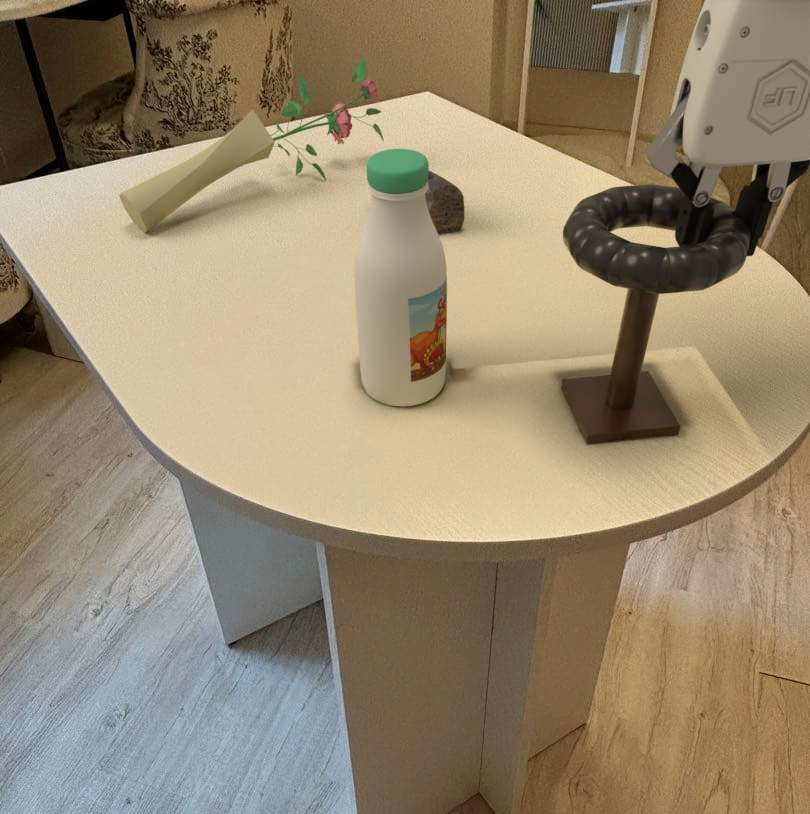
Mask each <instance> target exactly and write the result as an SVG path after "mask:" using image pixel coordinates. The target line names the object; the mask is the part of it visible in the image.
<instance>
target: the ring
mask: <svg viewBox="0 0 810 814" xmlns="http://www.w3.org/2000/svg"><path fill="white" fill-rule="evenodd" d="M683 197H684V193H683V192H682V191H681V190H680V188H679V187H675V186H668V185H661V184H655V183H650V184H649V183H648V184H635V185H634V184H633V185H622V186H621V185H620V186H613V187H609V188H608V189H605V190H602V191H599V192H597V193H595V194H592V195H589V196H587V197H585V198H583V199H581V200H580V201H579V202H578V203H577V204H576V205H575V207H574V208H573V210H572V212H571V213H570V215H569V217H568V219H567V220H566V221H565V223H564V225H563V230H562V240H563V243H564V245H565V248H567V250H568V252H569V254H570V256H571V258H572V260H573V261H574V262H575V264H576V265H577V267H579V269H581V270H582V271H584V272H586V273H588V274H590V275H592V276H594V277H596V278H598V279H600V280H601V281H603V282H605V283H607V284H610V285H611V286H613V287H617V288H622V289H627V290H628V289H633V290H638V291H644V292H649V293H655V294H659V295H664V294H678V293H687V292H688V293H689V292H699V291H704V290H707V289H709V288H711V287H713V286H715V285H716V284H719V283H721V282H723V281H725V280H727V279H729V278H731V277H733V276H735V275H736V274H737V273H738V272H740V271H741V270H742V268H743V267H744V265H745V263H746V260H747V257H748V256H747V252H748V248H749V244H750V239H751V234H750V229H749V227H748V226H747V224H746V223H745V222H744V221H743V220H742V219H741V218H740V217H739V216H738V215H737V214H736V212H735V209H733V208H732V207H731V206H730V205H729V204H727V203H726V202H724V201H721V200H718V199H716V198H714V197H711V198H710V201H709V203H710V204H711V205H712V206H713V208H714V214H713V218H712V222H711V225H710V229H709V233H708V236H707V238H706V241H704V242H702V243H700V244H697V245H693V246H681V247H679V246H670V247H669V246H667V247H664V246H663V247H662V246H656V245H651V244H646V243H645V244H644V243H639V242H633V241H629V240H628V239H626V238H623V237H621V236H619V235H617V234H615V233H612V232H614V231H616V230H619V229H629V228H642V227H647V228H654V229H655V228H656V229H661V230H667V231H672V232H673V231H674V232H675V230H676V226H677V222H678V218H679V214H680V210H681V206H682V201H683Z"/></svg>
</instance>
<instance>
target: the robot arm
mask: <svg viewBox="0 0 810 814" xmlns="http://www.w3.org/2000/svg"><path fill="white" fill-rule="evenodd" d="M680 146H682V150H683V153H684V155H686V156H687V161H684V159H683V158H682V157H680V156H678V155H677V150H678V149H679V147H680ZM644 160H645V161H647V163H648V165H650V166H651V167H652V168H653V169H655V170H656V171H658V172H659V173H661V174H663V175H664V176H666V177H668V178H669V179H671V180H673V182H674V183H675V184H676V186H677V188H680V190H681V191H682V192H683V193H684V197H683V201H682V206H681V210H680V214H679V218H678V222H677V226H676V230H675V231H674V238H675V242H676V244H677V245H678V247H681V246H693V245H697V244H700V243H702V242H704V241H706V238H707V236H708V233H709V229H710V225H711V222H712V218H713V214H714V208H713V206H712V205H711V204H710V203H709V201H710V198H712V195H713V192H714V190H715V187H716V185H717V183H718V180H719V177H720V174H721V172H722V169H723V168H729V167H743V166H744V167H745V166H753V168H752V175H751V182H750V183H749V184H745V185H743V187H742V189H741V190H740V192H739V195H738V199H737V202H736V206H735V209H734V211H735V212H736V214H737V215H738V216H739V217H740V218H741V219H742V220H743V221H744V222H745V223H746V224H747V226H748V227H749V229H750V234H751V239H750V244H749V248H748V252H747V256H746V257H753V256H754V254H755V253H756V249H757V247H758V246H757V245H758V244H759V243H758V242H759V240H760V239H761V238H762V237H763V235H764V232H765V229H766V226H767V223H768V219H769V217H770V213H771V210H772V208H773V205H774V203H776V202H778V201H780V200H781V199H782V198H784V196H785V193H786V190H787V188H788V187H789V186H791V185H792V184H793V183H794V182H796V181H797V180H798V179H799V178H800V177H801V176H802V175H804V174H805V173H806V172H808V170H809V168H810V0H704V2H703V5H702V6H701V9H700V12H699V15H698V17H697V20H696V22H695V26H694V29H693V31H692V34H691V38H690V41H689V44H688V47H687V50H686V53H685V56H684V60H683V64H682V67H681V70H680V73H679V78H678V81H677V85H676V88H675V92H674V97H673V101H672V105H671V109H670V115H669V117H668V119H666V122H665V123H664V125H663V126H662V127H661V129H660V130H659V132H658V133H657V134H656V136H655V137H654V138H653V140H652V142H651V143H650V144H649V146H648V147H647V149H645V152H644Z"/></svg>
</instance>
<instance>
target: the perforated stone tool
mask: <svg viewBox="0 0 810 814" xmlns="http://www.w3.org/2000/svg"><path fill="white" fill-rule="evenodd" d="M427 182H428V186H429V188H428V190H427V192H426V193H425V198H426V204H427V207H428V211H429V214H430V217H431V220H432V222H433V224H434V226H435V229H436V231H437V233H438V235H443V234H450V233H454V232H458V231H460V230H461V229H462V227H463V226H464V223H465V201H464V200H465V199H464V198H465V196H464V194H463V192H462V190H460V188H459V187H458V186H457V185H455V184H454V183H452V182H451V181H449V180H448V179H446V178H445V177H442V176H441V175H439V174H437V173H435V172H433V171H431V170H429V175H428V181H427Z"/></svg>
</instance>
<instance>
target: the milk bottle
mask: <svg viewBox="0 0 810 814" xmlns="http://www.w3.org/2000/svg"><path fill="white" fill-rule="evenodd" d="M429 169H430V167H429V161H428V158H427V156H426V155H424V154H423V153H421V152H420V151H416V150H413V149H409V148H408V149H407V148H391V149H385V150H381V151H378V152H375V153H373V154H372V155H371V156H370V157H369V158H368V159H367V162H366V180H367V184H368V185H367V191H368V193H369V194H370V197H371V199H370V207H369V210H368V211H369V212H368V215H367V216H368V217H367V219H366V222H365V225H364V227H363V230H362V232H361V235H360V238H359V240H358V243H357V246H356V250H355V256H354V266H353V267H354V269H353V272H354V273H353V274H354V276H353V277H354V298H355V313H356V327H357V342H358V343H357V344H358V355H359V368H360V378H361V385H362V388H363V389H364V390H365V392H366V393H367V394H368V395H369V397H370V398H372V399H373V400H375V401H377V402H379V403H381V404H384V405H388V406H395V407H413V406H416V405H422V404H423V403H426V402H428V401H430V400H432V399H434V398H435V397H436V396H437V395H438V394H439V393H440V392H441V390H443V387H444V385H445V383H446V374H447V373H446V371H447V334H448V333H447V330H448V329H447V328H448V327H447V325H448V324H447V322H448V278H447V276H448V274H447V272H448V271H447V259H446V254H445V250H444V246H443V244H442V240H441V238H440V234H438V233H437V231H436V229H435V226H434V224H433V222H432V220H431V217H430V214H429V211H428V207H427V204H426V198H425V193H426V192H427V190H428V188H429V186H428V182H427V181H428V175H429V171H430V170H429Z"/></svg>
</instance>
